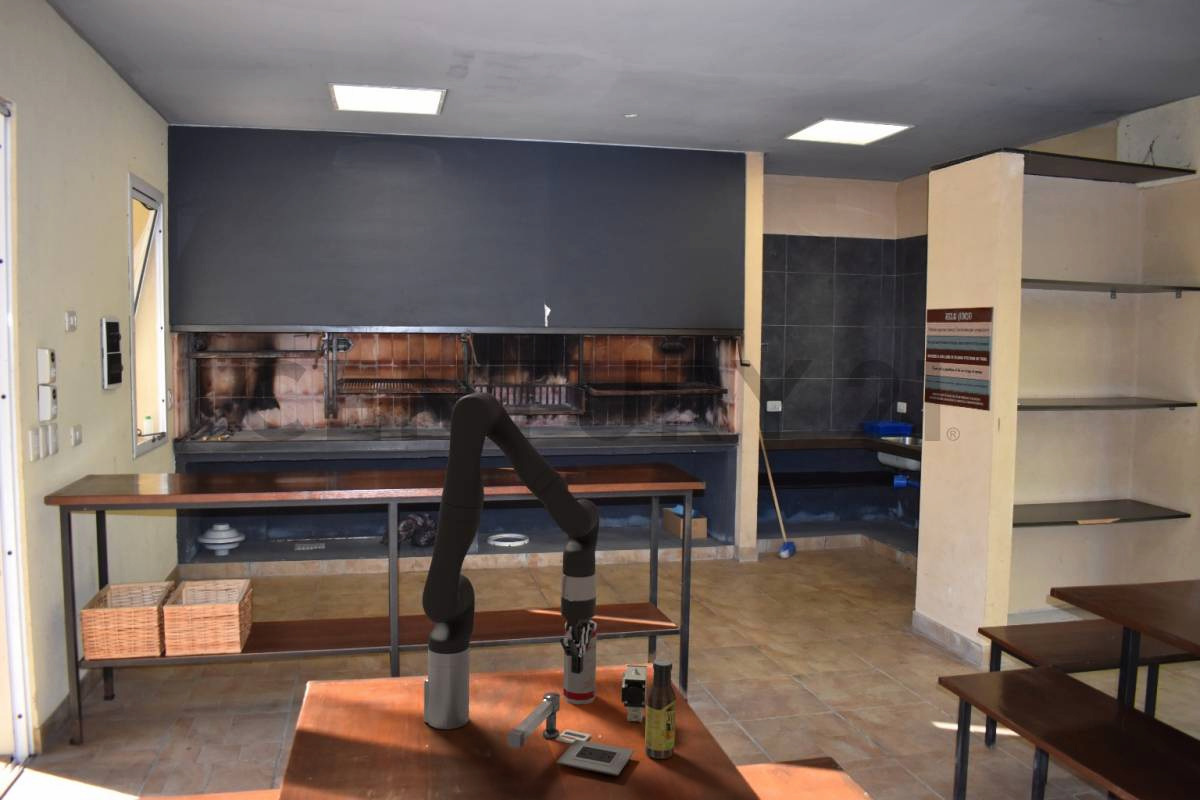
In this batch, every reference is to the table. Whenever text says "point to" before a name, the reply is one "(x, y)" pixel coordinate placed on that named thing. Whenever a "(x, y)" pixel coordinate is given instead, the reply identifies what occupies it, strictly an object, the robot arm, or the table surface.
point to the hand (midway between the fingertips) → (577, 672)
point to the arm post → (551, 727)
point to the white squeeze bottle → (581, 675)
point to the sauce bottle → (660, 712)
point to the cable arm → (534, 720)
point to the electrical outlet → (595, 757)
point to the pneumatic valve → (634, 691)
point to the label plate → (572, 736)
